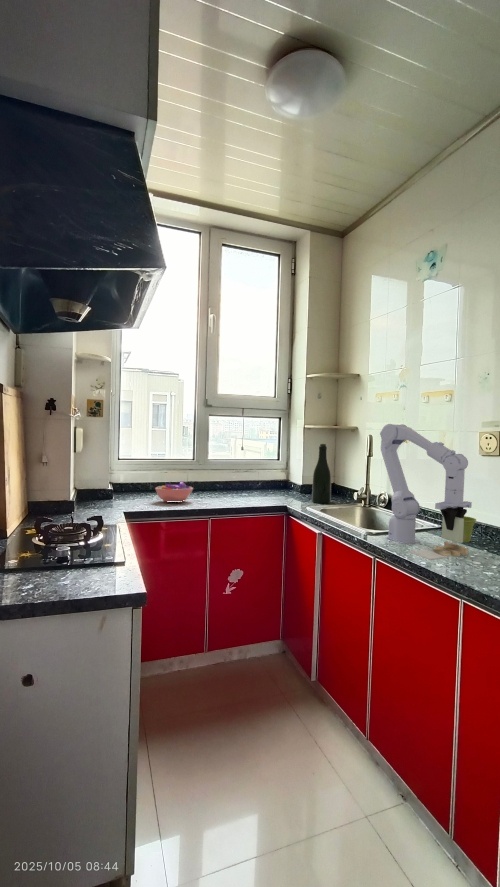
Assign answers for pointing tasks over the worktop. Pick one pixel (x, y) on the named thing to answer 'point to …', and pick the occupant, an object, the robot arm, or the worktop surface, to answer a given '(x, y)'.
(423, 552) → the mat
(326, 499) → the beer bottle
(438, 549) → the offcut upper
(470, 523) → the plant pot
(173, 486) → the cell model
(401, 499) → the robot arm
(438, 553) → the offcut lower
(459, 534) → the block
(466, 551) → the rack
